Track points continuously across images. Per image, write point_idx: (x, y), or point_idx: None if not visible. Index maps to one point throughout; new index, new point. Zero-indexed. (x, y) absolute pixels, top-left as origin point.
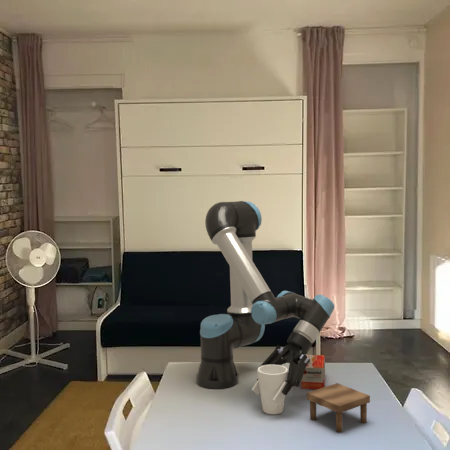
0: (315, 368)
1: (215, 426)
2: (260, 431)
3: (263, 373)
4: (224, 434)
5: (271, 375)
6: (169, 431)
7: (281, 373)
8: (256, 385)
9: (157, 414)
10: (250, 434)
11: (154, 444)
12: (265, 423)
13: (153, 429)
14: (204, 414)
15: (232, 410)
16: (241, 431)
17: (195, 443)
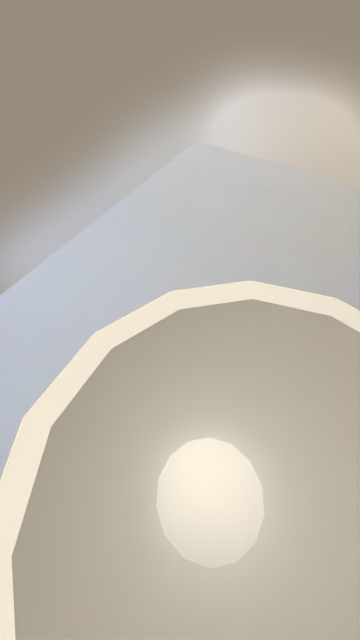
0: None
1: (196, 250)
2: (80, 329)
3: (184, 289)
4: (138, 247)
5: (92, 345)
6: (226, 179)
7: (4, 513)
8: None
9: (331, 187)
10: (87, 296)
11: (185, 153)
12: None
13: (251, 165)
14: (290, 259)
15: None
16: (122, 286)
17: (141, 193)
